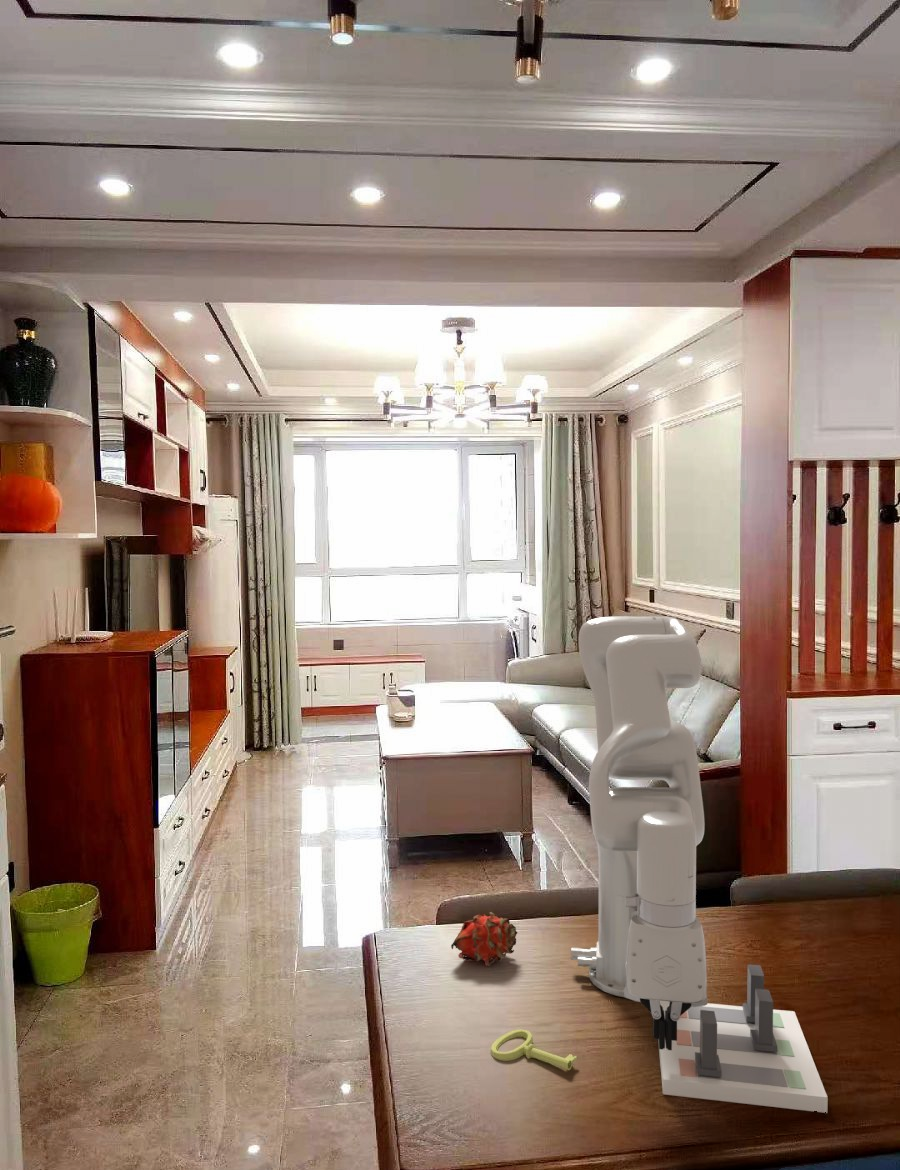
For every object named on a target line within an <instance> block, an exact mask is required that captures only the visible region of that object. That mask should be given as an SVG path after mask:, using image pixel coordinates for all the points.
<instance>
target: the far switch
mask: <svg viewBox="0 0 900 1170" xmlns="http://www.w3.org/2000/svg"><path fill="white" fill-rule="evenodd" d="M746 977H747V978H746V979H747V980H746V981H747V984H746V985H747V987H746V988H747V991H746V993H747V995H746V997H747V998H746V999H747V1000H746V1002H742V1007H743V1011H744V1015H745V1019H746V1022H755V989H765V975H764V972H763V969H762V966H761V965H759V964H747V976H746Z"/></svg>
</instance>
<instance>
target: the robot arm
mask: <svg viewBox="0 0 900 1170" xmlns="http://www.w3.org/2000/svg"><path fill="white" fill-rule="evenodd" d="M578 651H579V658H580V663H581V666H582V669H583V672H584V676H585V677H586V680H587V682H588V685H589V687H590V691H591V693H592V696H593V700H594V701H593V702H594V709H595V724H596V725H595V727H596V740H597V753H596V754H595V756H594V758H593V761H592V763H591V767H590V770H589V776H588V777H589V778H588V794H589V808H590V821H591V829H592V834H593V836H594V839H595V842H596V844H597V845H596V846H597V853H598V854H597V855H598V941H596V946H595V947H594V946H590V949H587V948H582V947H571V950H570V952H571V953H570V959H571V960H573V961H577V966H578V967H588V977H589V980H590V982H591V983H592V984H593V985H594V986H595V987H596V988H598V989H599V990H601V991H603V992H604V993H607V994H610V995H612V996H616V997H621V998H624V999H629V1000H632V1001H634V1002H639V1003H641V1005H643V1006H644V1008H645V1009H646V1010H647V1012H649V1013H650V1014H651V1016H652V1018H653V1021H652V1022H653V1023H652V1025H653V1027H652V1031H653V1033H652V1037H653V1039H655V1040H658V1039H659V1044H658V1050H659V1049H663V1048H665V1043H666V1049H668V1050H672V1040H673V1041H677V1021H678V1020H679V1018H680V1016H681V1015H682V1014H683V1013H684V1012H686V1011H687V1010H688V1009H689V1008H690V1007H698V1006H705V1005H707V1003H709V1001H708V997H707V984H708V983H707V959H706V955H707V954H706V941H705V936H704V930H703V925H702V922H701V920H700V918H699V916H697V914H696V913H697V912H696V911H697V910H696V908H697V905H696V903H697V902H696V901H697V899H696V898H697V897H696V895H697V890H696V889H697V885H696V884H697V846H698V845H699V844H701V842H702V841H703V839H704V835H705V811H704V801H703V796H702V795H703V793H702V787H701V778H700V777H701V776H700V770H699V768H700V767H699V760H698V759H699V758H698V753H697V748H696V747H697V746H696V743H695V742H696V741H695V739H694V737H693V735H692V733H691V731H690V729H689V728H687V726H685V725H684V724H682V723H678V722H671V718H670V711H669V704H668V699H667V691H666V689H690V688H691V689H692V688H693V687H694V686H696V685H697V684H698V683H699V681H700V680H701V679H700V678H701V675H702V657H701V654H700V653H701V652H700V650H699V647H698V645H697V642H696V639H695V638H694V637H693V635H692V634H691V632H690V631H689V630H688V629H687V627H686V626H685V625H684V623H682V621H681V620H679V619H678V618H675V617H672V616H661V615H660V616H654V615H652V616H651V615H650V616H644V615H643V616H631V615H629V616H628V615H626V616H623V615H621V616H620V615H619V616H618V615H617V616H616V615H615V616H614V615H612V616H603V617H602V616H601V617H596V618H593V619H590V620H587V621H586V622H584V623H583V624H582V625H581V627H580V629H579V632H578ZM610 778H611V779H615V780H622V781H623V780H627V781H651V780H652V781H664V782H666V784H667V785H668V786H669V787H664V786H663V787H649V786H622V787H621V786H619V787H611V788H610V784H609V781H610ZM660 1001H670V1003H669V1006H668V1007H667V1011H665V1016H664V1010H663V1007H662V1006H661V1005H660Z"/></svg>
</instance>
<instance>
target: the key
mask: <svg viewBox="0 0 900 1170" xmlns="http://www.w3.org/2000/svg"><path fill="white" fill-rule="evenodd" d="M515 1038H524V1039H525V1041H524V1042H523V1043H522V1044H520V1045H519V1046H518V1047H516V1048H514V1049H512V1050H509V1051H499V1048H500V1047H501V1045H502V1044H504V1043H505V1042H507V1041H509V1040H512V1039H515ZM533 1039H534V1038H533V1036H532V1033H531V1032H530V1031H529V1030H526V1029H515V1030H511V1031H508V1032H507V1033H505V1034H503V1035H501V1036H499V1037H498V1038H497V1039H496V1040H494V1042H493V1043H492V1044H491V1048H490V1055H491V1056H492V1057H493V1058H494V1059H496V1060H498V1061H503V1062H504V1061H505V1062H507V1061H509V1062H510V1061H513V1060H516V1059H519V1058H521V1057H522V1056H525V1057H526V1059H532V1058H533V1059H536V1060H539V1061H541V1062H544V1063H547V1064H551V1065H553V1066H556V1067H560V1068H562V1069H565V1070H567V1071H571V1069H572V1067H573V1064H574V1063H575V1062H576V1061H577V1060H578V1056H577V1055H573V1054H571V1053H570V1054H568V1055H567V1056H566V1057H561V1056H559V1055H556V1054H554V1053H550V1052H547V1051H544V1050H541V1049H539V1048H536V1046H535V1044H533Z"/></svg>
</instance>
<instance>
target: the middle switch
mask: <svg viewBox="0 0 900 1170" xmlns="http://www.w3.org/2000/svg"><path fill="white" fill-rule="evenodd" d="M773 1010H774V1000H773V998H772V994H771V992H770V989H765V988H764V989H755V1030H752V1029H750V1037H751V1040H752V1044H753V1047H754V1050H761V1051H771V1052H777V1043H776V1040H775V1037H774V1034H773Z"/></svg>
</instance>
